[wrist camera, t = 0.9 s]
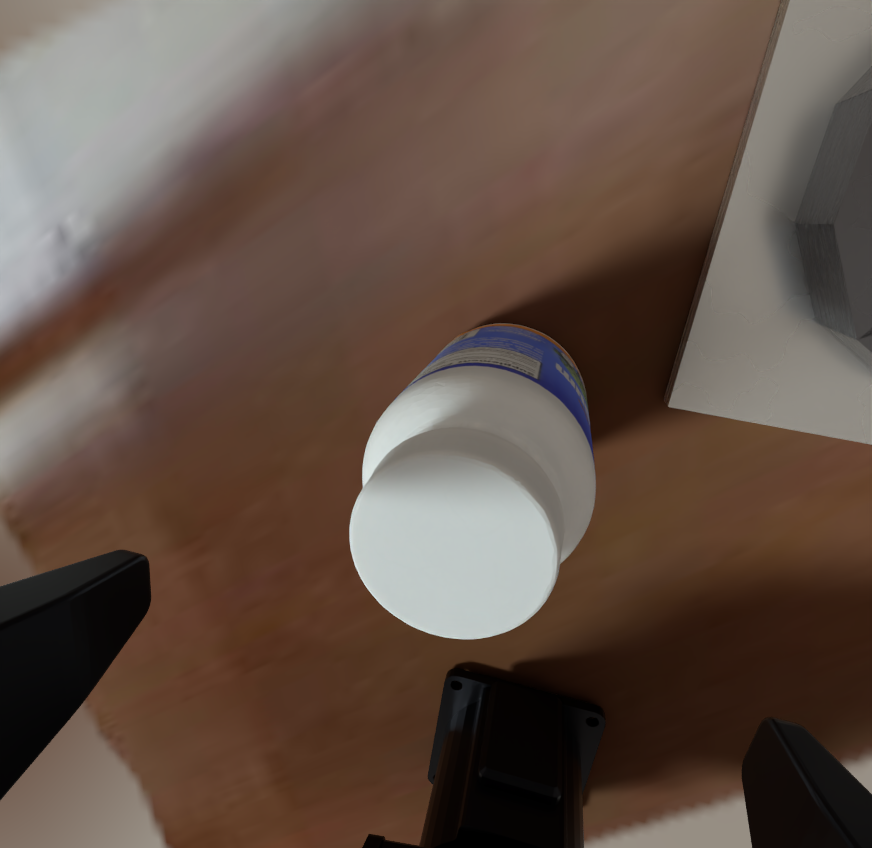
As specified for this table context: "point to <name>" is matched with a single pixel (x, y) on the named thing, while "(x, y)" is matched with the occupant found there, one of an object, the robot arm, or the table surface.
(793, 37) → the collar
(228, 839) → the table surface
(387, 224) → the table surface
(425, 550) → the pill bottle
